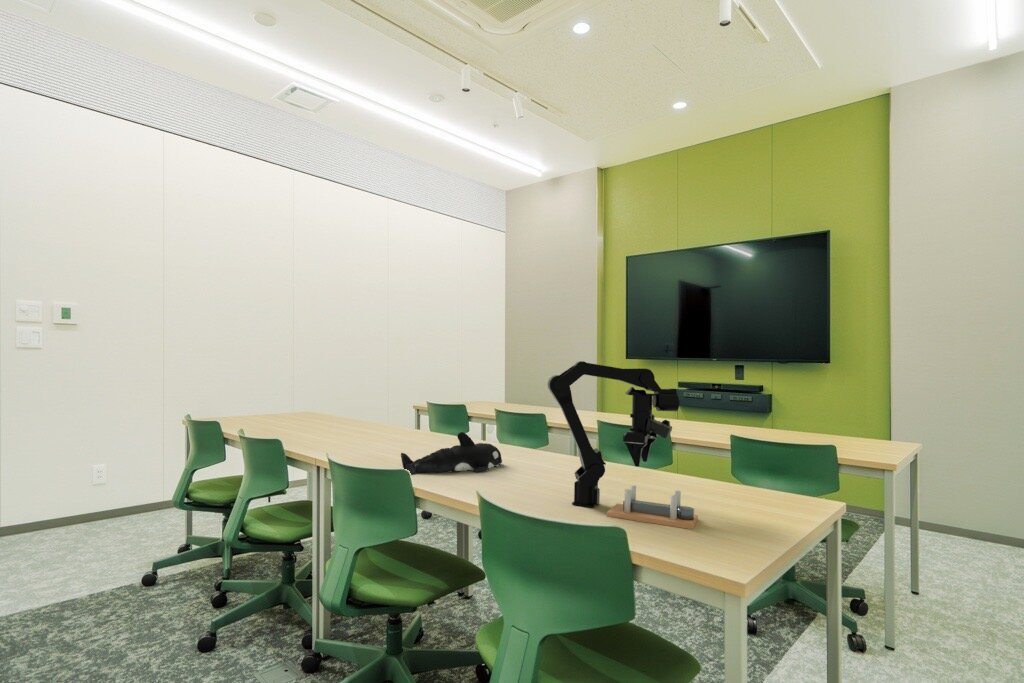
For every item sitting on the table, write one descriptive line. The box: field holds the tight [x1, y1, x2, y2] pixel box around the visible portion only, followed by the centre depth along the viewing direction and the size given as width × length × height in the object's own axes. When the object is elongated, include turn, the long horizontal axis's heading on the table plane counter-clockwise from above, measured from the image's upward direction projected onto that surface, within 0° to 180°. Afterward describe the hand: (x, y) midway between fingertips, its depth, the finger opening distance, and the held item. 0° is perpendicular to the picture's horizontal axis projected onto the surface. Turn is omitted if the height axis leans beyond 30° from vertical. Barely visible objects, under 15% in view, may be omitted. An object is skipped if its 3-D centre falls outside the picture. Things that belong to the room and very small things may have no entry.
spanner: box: [622, 499, 695, 520], centre depth 141 cm, size 18×4×2 cm, turn 64°
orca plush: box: [400, 431, 503, 476], centre depth 204 cm, size 21×41×14 cm, turn 108°
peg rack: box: [606, 484, 699, 530], centre depth 142 cm, size 22×10×7 cm, turn 64°
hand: (641, 463), depth 155 cm, fingers open, 9 cm apart
